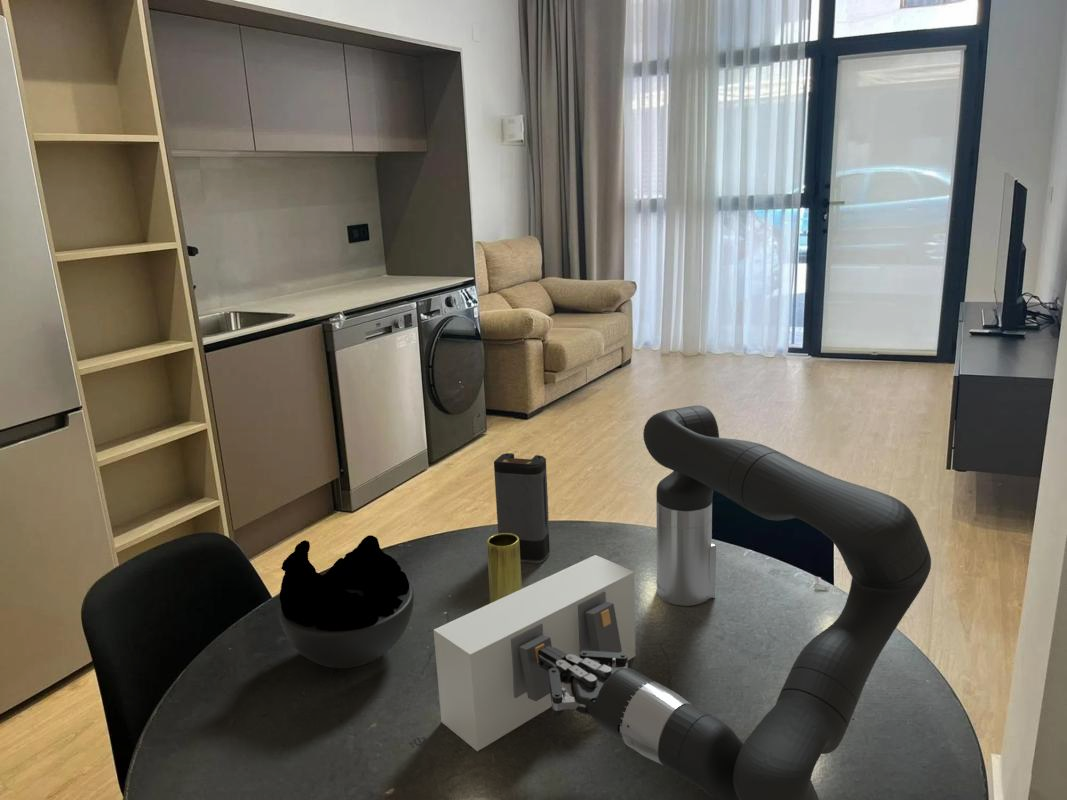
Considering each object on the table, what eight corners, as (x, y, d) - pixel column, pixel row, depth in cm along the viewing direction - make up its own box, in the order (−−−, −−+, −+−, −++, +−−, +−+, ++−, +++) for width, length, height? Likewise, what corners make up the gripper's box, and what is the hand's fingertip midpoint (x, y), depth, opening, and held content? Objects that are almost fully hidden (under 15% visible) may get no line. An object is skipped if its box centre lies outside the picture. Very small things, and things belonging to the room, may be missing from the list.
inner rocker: (593, 660, 109) (585, 612, 109) (613, 648, 112) (605, 601, 111) (603, 663, 108) (594, 614, 107) (623, 651, 110) (614, 603, 110)
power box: (441, 722, 106) (433, 629, 103) (597, 635, 125) (595, 554, 122) (478, 752, 100) (471, 655, 97) (636, 656, 119) (635, 572, 115)
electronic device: (552, 551, 155) (548, 455, 150) (542, 565, 149) (538, 465, 144) (507, 546, 158) (502, 452, 153) (496, 559, 152) (490, 462, 147)
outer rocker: (528, 698, 102) (518, 646, 101) (551, 684, 104) (542, 634, 104) (537, 702, 100) (527, 650, 100) (560, 688, 103) (551, 637, 102)
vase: (527, 608, 134) (523, 531, 130) (523, 628, 128) (519, 547, 124) (492, 608, 135) (487, 531, 131) (486, 627, 129) (481, 547, 125)
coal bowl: (445, 651, 123) (436, 540, 118) (334, 715, 109) (319, 592, 104) (369, 610, 136) (358, 508, 131) (262, 662, 122) (245, 551, 117)
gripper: (683, 662, 91) (578, 608, 104) (605, 713, 83) (500, 648, 96) (683, 717, 93) (579, 658, 106) (606, 773, 85) (503, 702, 98)
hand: (542, 654), depth 101 cm, fingers closed
